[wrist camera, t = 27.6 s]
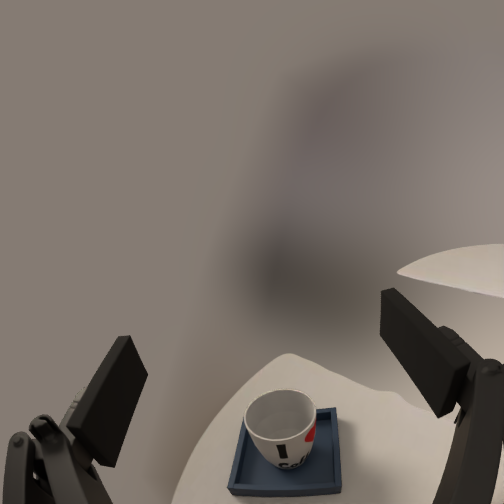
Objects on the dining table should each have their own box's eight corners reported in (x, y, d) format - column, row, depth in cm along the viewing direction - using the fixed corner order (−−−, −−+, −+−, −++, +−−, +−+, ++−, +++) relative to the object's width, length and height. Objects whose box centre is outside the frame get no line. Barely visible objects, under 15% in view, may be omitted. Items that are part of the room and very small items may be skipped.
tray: (231, 494, 26) (226, 487, 25) (247, 422, 39) (244, 412, 38) (340, 493, 23) (341, 486, 23) (335, 417, 36) (335, 407, 35)
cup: (278, 488, 26) (267, 453, 23) (248, 450, 33) (232, 408, 30) (330, 456, 29) (331, 414, 26) (296, 424, 36) (289, 379, 33)
